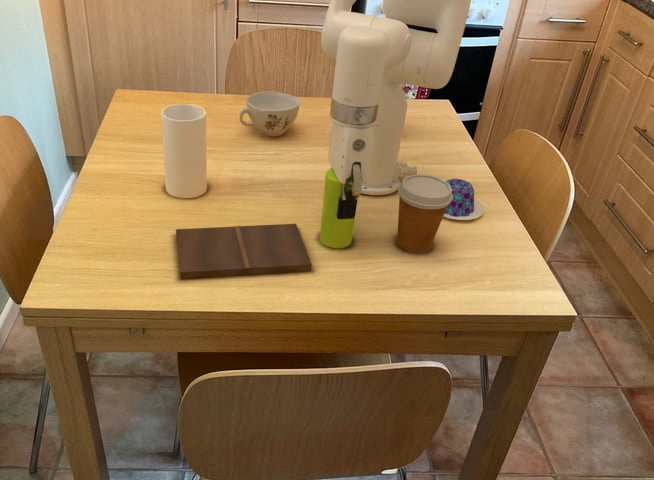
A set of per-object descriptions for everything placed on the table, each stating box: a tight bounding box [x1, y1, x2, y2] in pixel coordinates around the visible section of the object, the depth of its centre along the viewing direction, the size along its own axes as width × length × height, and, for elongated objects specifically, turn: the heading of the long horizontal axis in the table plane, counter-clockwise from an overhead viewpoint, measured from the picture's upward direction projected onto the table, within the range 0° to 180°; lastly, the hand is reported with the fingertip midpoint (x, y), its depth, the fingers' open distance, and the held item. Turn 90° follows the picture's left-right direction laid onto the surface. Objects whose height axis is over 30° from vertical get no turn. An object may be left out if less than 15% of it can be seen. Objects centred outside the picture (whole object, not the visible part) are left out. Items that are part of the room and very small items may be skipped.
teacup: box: [238, 90, 301, 137], centre depth 148 cm, size 15×12×8 cm
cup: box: [160, 103, 208, 199], centre depth 122 cm, size 8×8×16 cm
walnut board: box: [175, 223, 313, 280], centre depth 109 cm, size 22×13×2 cm, turn 101°
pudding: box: [443, 178, 485, 221], centre depth 126 cm, size 12×12×5 cm
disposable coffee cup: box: [396, 173, 453, 254], centre depth 112 cm, size 10×10×12 cm
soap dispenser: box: [319, 168, 356, 249], centre depth 110 cm, size 6×7×20 cm
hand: (340, 207), depth 111 cm, fingers closed on soap dispenser, 6 cm apart
